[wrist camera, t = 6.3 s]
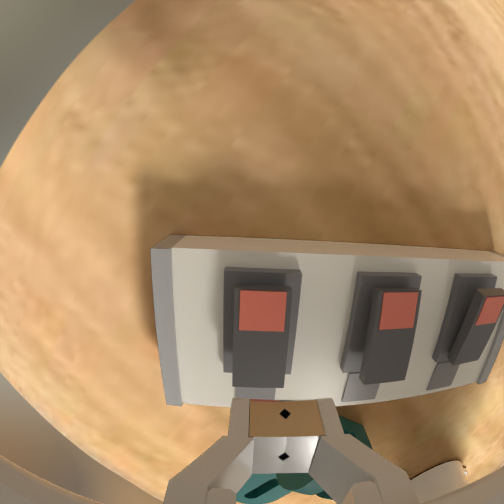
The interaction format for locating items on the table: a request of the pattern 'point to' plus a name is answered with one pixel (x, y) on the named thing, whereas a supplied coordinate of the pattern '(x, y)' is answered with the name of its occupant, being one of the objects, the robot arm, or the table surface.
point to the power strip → (313, 315)
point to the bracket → (291, 477)
